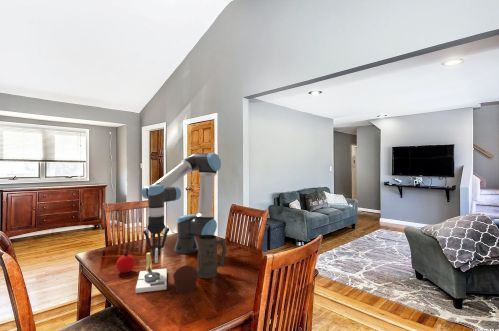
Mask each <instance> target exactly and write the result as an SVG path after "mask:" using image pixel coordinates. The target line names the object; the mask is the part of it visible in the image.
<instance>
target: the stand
mask: <svg viewBox="0 0 499 331" xmlns="http://www.w3.org/2000/svg"><path fill="white" fill-rule="evenodd" d="M152 272H158V273H160V279H158V280H156V281H152V282H147V281H145V280H144V276H145V275H146V274H148V272H146V270H140V271H139V274H138V278H137V282H136V285H135V294H138V293H146V292H154V291H155V292H157V291H163V290H167V280H168V279H167V268H158V269H157V268H156V269H152Z"/></svg>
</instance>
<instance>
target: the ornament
mask: <svg viewBox="0 0 499 331" xmlns="http://www.w3.org/2000/svg"><path fill="white" fill-rule="evenodd" d="M135 265H136V259H135V257H134V256H133V255H131V254H129V252H124V253H123V255H121V256H120V257H119V258H118V259H117V261H116V269H117V270H118V271H119V272H120V273H124V274H125V273H126V274H127V273H130V272H131V271H132V270H134V267H135Z"/></svg>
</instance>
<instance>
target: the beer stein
mask: <svg viewBox="0 0 499 331" xmlns="http://www.w3.org/2000/svg"><path fill="white" fill-rule="evenodd" d="M197 244H198V250H197V264H196V265H197V266H196V271H197V272H198V277H197V278H200V279H211V278H212V279H213V278H215V277H217V275H218V268H219V267H222V268H224V266H225V263H224V260H225V257H226V254H227V250H228V249H227V245H226V239H225V238H221V239H218V236H217V235H215V234H214V235H201V236H197ZM218 245H220V246H222V247H221V248H222V251H221V257H220V260H219V261H218Z"/></svg>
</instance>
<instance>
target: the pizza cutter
mask: <svg viewBox="0 0 499 331" xmlns="http://www.w3.org/2000/svg"><path fill="white" fill-rule="evenodd" d="M152 257H153V252H149V251H148V252H146V254H145V260H146V261H145V271H146V272H148V274H146V275H145V276H144V280H145V281H147V282H152V281H156V280H158V279H160V273H158V272H152V270H153V269H152V268H153V265H152V264H153V263H152V261H153V260H152V259H153V258H152Z"/></svg>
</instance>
